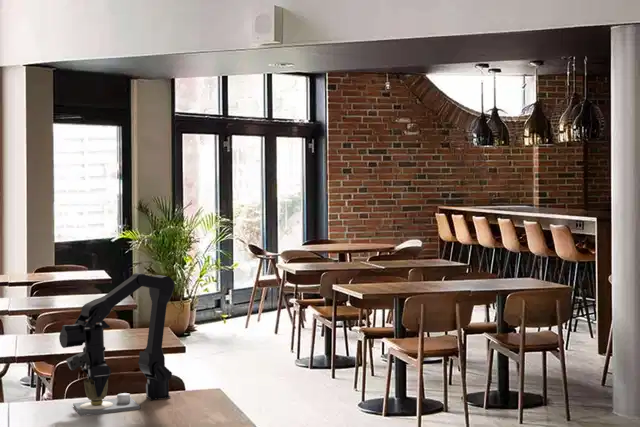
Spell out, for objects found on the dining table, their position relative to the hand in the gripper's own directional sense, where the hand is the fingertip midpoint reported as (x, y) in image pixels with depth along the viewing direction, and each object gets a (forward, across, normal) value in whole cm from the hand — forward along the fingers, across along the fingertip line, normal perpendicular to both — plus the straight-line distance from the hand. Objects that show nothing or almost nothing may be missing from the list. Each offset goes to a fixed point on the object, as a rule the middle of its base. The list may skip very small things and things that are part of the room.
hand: (96, 393), depth 298 cm
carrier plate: (+5, 0, +3) cm, 6 cm away
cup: (+4, 0, 0) cm, 4 cm away
